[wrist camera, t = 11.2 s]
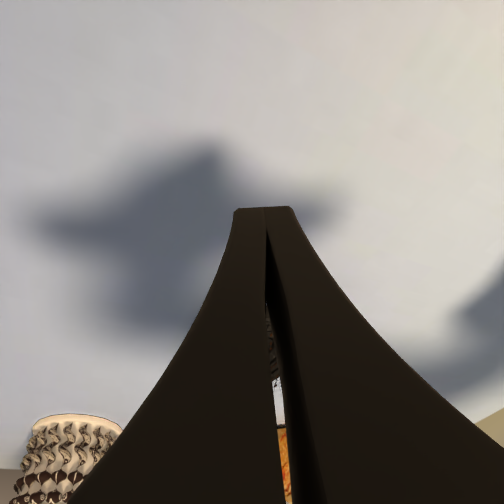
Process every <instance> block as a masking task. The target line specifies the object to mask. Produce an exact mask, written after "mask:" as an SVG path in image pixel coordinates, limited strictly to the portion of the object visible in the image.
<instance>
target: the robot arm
mask: <svg viewBox="0 0 504 504" xmlns="http://www.w3.org/2000/svg"><path fill="white" fill-rule="evenodd" d="M266 302H267V308H268V313H269V319H270V325H271V330H272V336H273V341H274V347H275V352H276V358H277V363H278V369H279V374H280V380H281V387H282V394H283V403H284V414H285V425H286V437H287V448H288V460H289V472H290V484H291V497H292V504H504V448H503V447H501V446H500V445H499V444H498V443H497V442H495V441H494V440H493V439H492V438H490V437H489V436H488V435H487V434H486V433H484V432H483V431H482V430H481V429H479V428H478V427H477V426H476V425H475V424H473V423H472V422H471V421H470V420H469V419H467V418H466V417H465V416H464V415H463V414H462V413H461V412H459V411H458V410H457V409H456V408H455V407H454V406H452V405H451V404H450V403H449V402H448V401H447V400H446V399H444V398H443V397H442V396H441V395H440V394H439V393H438V392H437V391H436V390H435V389H433V388H432V387H431V386H430V385H429V384H428V383H427V382H426V381H425V380H424V379H423V378H422V377H421V376H420V375H419V374H418V373H417V372H416V371H414V370H413V369H412V368H411V367H410V366H409V365H408V364H407V363H406V362H405V361H404V360H403V359H402V358H401V357H400V356H399V355H398V354H397V353H396V352H395V351H394V350H393V349H392V348H391V347H390V346H389V345H388V344H387V343H386V341H385V340H384V339H383V338H382V337H381V336H380V335H379V334H378V333H377V332H376V331H375V329H374V328H373V327H372V326H371V325H370V324H369V323H368V322H367V320H366V319H365V318H364V317H363V316H362V315H361V313H360V312H359V311H358V310H357V309H356V307H355V306H354V305H353V304H352V302H351V301H350V300H349V299H348V297H347V296H346V295H345V293H344V292H343V291H342V289H341V288H340V287H339V285H338V284H337V283H336V281H335V280H334V278H333V277H332V276H331V274H330V273H329V271H328V270H327V268H326V267H325V265H324V264H323V262H322V261H321V259H320V258H319V256H318V255H317V253H316V252H315V250H314V249H313V247H312V245H311V244H310V242H309V240H308V238H307V237H306V235H305V233H304V231H303V230H302V228H301V226H300V224H299V222H298V220H297V218H296V216H295V214H294V211H293V209H292V208H290V207H289V206H277V207H256V208H238V209H237V210H236V211H235V212H234V214H233V222H232V227H231V232H230V235H229V239H228V242H227V245H226V249H225V252H224V254H223V257H222V260H221V262H220V265H219V268H218V271H217V273H216V276H215V278H214V280H213V283H212V285H211V287H210V289H209V291H208V294H207V296H206V298H205V300H204V302H203V305H202V307H201V309H200V311H199V313H198V315H197V317H196V319H195V320H194V322H193V324H192V326H191V328H190V330H189V332H188V333H187V335H186V337H185V339H184V340H183V342H182V344H181V346H180V347H179V349H178V351H177V352H176V354H175V355H174V357H173V359H172V360H171V362H170V364H169V365H168V367H167V368H166V370H165V372H164V373H163V375H162V376H161V378H160V379H159V381H158V382H157V384H156V385H155V387H154V388H153V390H152V391H151V392H150V394H149V395H148V397H147V398H146V399H145V401H144V402H143V404H142V405H141V406H140V408H139V409H138V411H137V412H136V413H135V415H134V416H133V417H132V419H131V420H130V422H129V423H128V424H127V426H126V427H125V429H124V430H123V431H122V433H121V434H120V435H119V436H118V438H117V439H116V440H115V442H114V443H113V444H112V445H111V447H110V448H109V449H108V450H107V452H106V453H105V454H104V455H103V456H102V458H101V459H100V460H99V461H98V463H97V464H96V465H95V466H94V468H93V469H92V470H91V471H90V472H89V474H88V475H87V476H86V477H85V479H84V480H83V481H82V482H81V483H80V485H79V486H78V487H77V488H76V490H75V491H74V492H73V493H72V495H71V496H70V498H69V500H68V502H67V504H286V500H285V491H284V483H283V474H282V466H281V457H280V449H279V440H278V432H277V423H276V414H275V405H274V396H273V386H272V377H271V367H270V358H269V348H268V338H267V328H266Z"/></svg>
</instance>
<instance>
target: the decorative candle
mask: <svg viewBox="0 0 504 504" xmlns="http://www.w3.org/2000/svg"><path fill="white" fill-rule="evenodd" d="M32 431H33V435H34V436H33V437H32V438H30V439H29V444H27V446H26V449H27V451H28V454H27V455H25V456H24V457H23V461H22V462H21V464H20V467H21V469H22V471H23V474H24V476H25V477H22V478H20V479H18V480H17V481H16V484H15V485H14V490H15V491H16V492H17V494H18V495H19V496H18V497H16V498H13V499H12V500H11V501H10V502H9V504H67V502H68V500H69V498H70V496H71V495H72V493H73V492H74V491H75V490H76V488H77V487H78V486H79V485H80V483H81V482H82V481H83V480H84V479H85V477H86V476H87V475H88V474H89V472H90V471H91V470H92V469H93V468H94V466H95V465H96V464H97V463H98V461H99V460H100V459H101V458H102V456H103V455H104V454H105V453H106V452H107V450H108V449H109V448H110V447H111V445H112V444H113V443H114V442H115V440H116V439H117V438H118V436H119V435H120V434H121V433H122V431H123V430H122V429H121V428H120V427H119V426H118V425H117V424H115V423H113V422H111V421H109V420H106V419H103V418H99V417H94V416H89V415H77V414H64V415H54V416H49V417H46V418H44V419H41V420H39V421H38V422H37V423H36V424H35V425H34V426H33V429H32Z"/></svg>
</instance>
